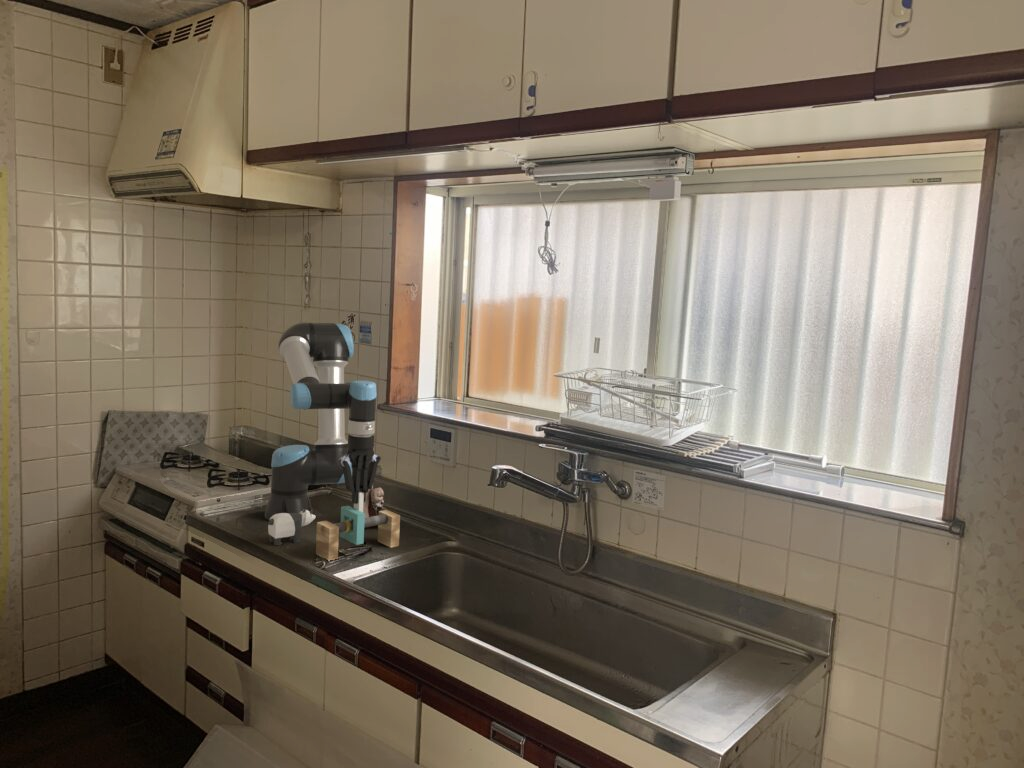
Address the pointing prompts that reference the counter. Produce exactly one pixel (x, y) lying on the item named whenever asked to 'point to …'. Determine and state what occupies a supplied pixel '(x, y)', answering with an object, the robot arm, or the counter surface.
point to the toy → (379, 506)
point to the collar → (358, 525)
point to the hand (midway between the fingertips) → (358, 513)
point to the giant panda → (288, 525)
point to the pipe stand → (330, 532)
